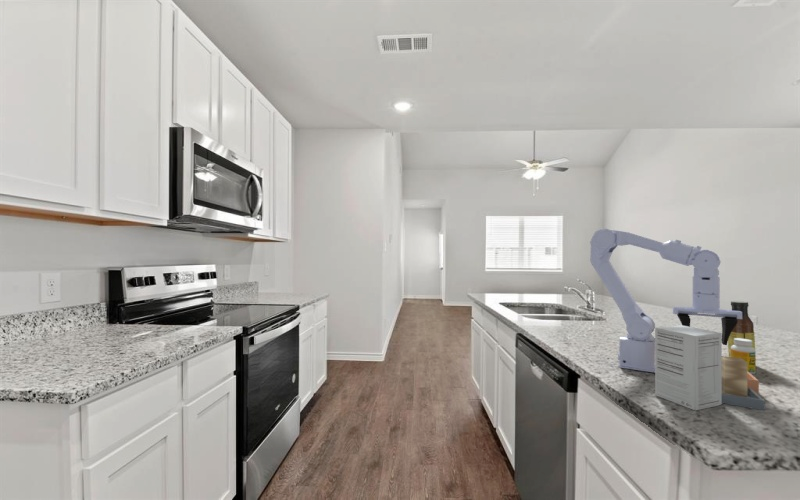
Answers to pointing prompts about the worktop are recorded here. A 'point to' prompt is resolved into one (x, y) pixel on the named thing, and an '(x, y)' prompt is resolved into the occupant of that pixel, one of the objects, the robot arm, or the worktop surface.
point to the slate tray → (745, 400)
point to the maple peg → (734, 376)
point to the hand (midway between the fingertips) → (706, 342)
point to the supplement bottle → (745, 353)
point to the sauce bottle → (741, 325)
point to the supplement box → (688, 366)
